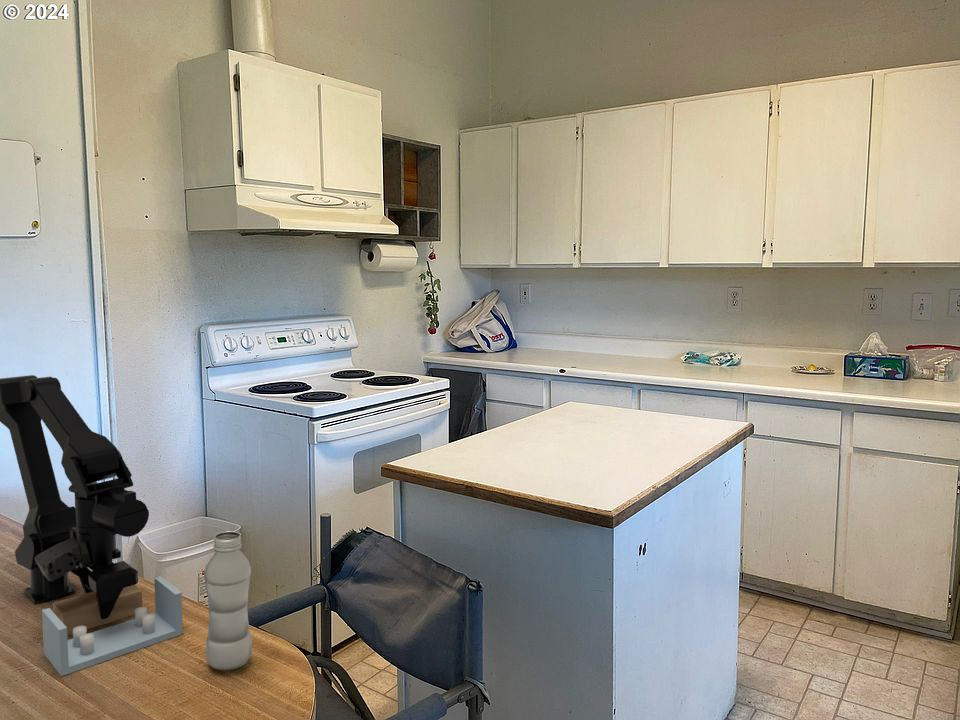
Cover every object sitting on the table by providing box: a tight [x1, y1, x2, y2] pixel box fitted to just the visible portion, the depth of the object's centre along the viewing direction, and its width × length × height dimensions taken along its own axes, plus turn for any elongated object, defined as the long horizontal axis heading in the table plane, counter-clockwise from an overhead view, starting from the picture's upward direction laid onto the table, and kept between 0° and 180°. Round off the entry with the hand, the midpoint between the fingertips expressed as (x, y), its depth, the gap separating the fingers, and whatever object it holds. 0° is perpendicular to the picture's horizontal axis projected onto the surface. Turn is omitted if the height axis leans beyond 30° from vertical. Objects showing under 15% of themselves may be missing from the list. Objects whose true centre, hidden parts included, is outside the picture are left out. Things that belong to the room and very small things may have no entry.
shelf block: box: [52, 584, 143, 637], centre depth 119 cm, size 5×12×4 cm, turn 137°
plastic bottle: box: [203, 530, 253, 672], centre depth 106 cm, size 6×7×20 cm
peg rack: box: [41, 575, 184, 677], centre depth 111 cm, size 8×18×7 cm, turn 136°
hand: (98, 612), depth 119 cm, fingers closed on shelf block, 5 cm apart
